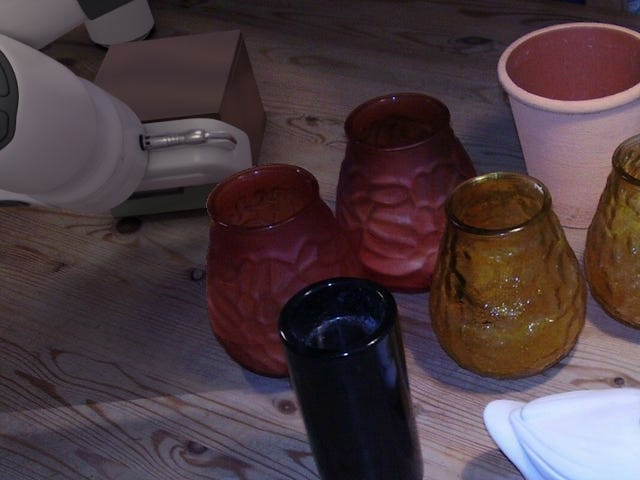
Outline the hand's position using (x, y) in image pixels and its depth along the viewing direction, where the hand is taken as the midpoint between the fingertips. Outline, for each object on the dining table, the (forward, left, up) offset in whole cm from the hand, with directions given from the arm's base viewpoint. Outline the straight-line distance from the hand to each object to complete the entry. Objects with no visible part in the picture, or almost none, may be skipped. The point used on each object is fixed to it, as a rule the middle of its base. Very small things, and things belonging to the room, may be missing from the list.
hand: (151, 181), depth 84 cm
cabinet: (0, +11, -6) cm, 12 cm away
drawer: (0, +7, -5) cm, 9 cm away
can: (-13, +40, -6) cm, 42 cm away
